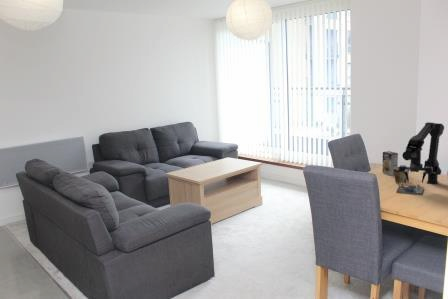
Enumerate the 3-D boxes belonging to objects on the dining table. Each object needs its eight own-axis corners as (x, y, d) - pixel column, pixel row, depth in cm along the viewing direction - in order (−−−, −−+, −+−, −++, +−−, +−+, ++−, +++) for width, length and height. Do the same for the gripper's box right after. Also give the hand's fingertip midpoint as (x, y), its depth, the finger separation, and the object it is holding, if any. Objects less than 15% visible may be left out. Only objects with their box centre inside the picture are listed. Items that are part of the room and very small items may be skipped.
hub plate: (399, 186, 254) (399, 182, 253) (423, 188, 246) (423, 184, 246) (396, 192, 242) (396, 187, 242) (421, 194, 235) (421, 190, 234)
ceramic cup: (410, 184, 257) (411, 169, 255) (394, 184, 259) (394, 170, 257) (405, 179, 270) (406, 165, 268) (390, 179, 272) (390, 165, 270)
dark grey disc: (418, 187, 241) (419, 180, 241) (409, 189, 240) (409, 181, 239) (407, 184, 250) (408, 177, 250) (398, 185, 249) (398, 178, 248)
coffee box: (382, 172, 291) (382, 151, 289) (389, 171, 293) (389, 150, 290) (390, 175, 283) (390, 153, 280) (397, 174, 285) (398, 152, 282)
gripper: (397, 159, 241) (397, 184, 243) (431, 161, 231) (431, 186, 234) (400, 156, 250) (399, 180, 253) (432, 157, 241) (432, 182, 243)
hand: (415, 182), depth 245 cm, fingers open, 8 cm apart
